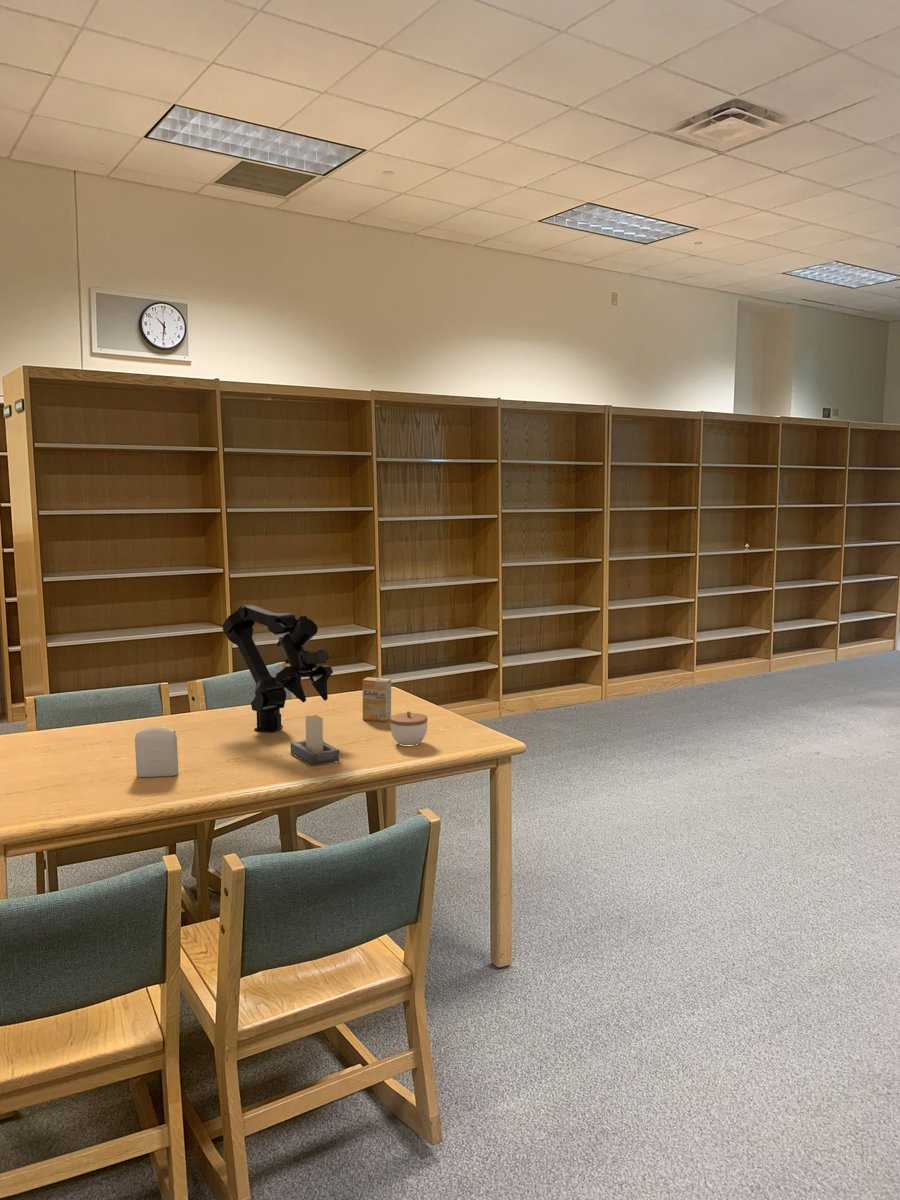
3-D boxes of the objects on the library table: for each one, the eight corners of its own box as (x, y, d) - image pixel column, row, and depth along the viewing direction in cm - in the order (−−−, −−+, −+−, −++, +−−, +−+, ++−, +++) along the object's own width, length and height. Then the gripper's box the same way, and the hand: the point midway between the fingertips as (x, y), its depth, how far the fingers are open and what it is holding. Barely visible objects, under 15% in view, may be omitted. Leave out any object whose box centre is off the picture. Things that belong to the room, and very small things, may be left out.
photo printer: (134, 778, 216) (132, 730, 215) (138, 773, 221) (136, 725, 219) (176, 777, 217) (174, 729, 216) (180, 772, 222) (178, 724, 220)
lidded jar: (413, 736, 255) (413, 705, 254) (434, 744, 247) (434, 712, 246) (383, 742, 249) (382, 710, 248) (403, 751, 240) (403, 718, 239)
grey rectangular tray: (290, 752, 238) (290, 742, 238) (317, 748, 243) (317, 738, 242) (311, 766, 227) (311, 754, 226) (339, 761, 231) (339, 750, 231)
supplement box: (362, 720, 274) (361, 679, 273) (367, 716, 279) (367, 676, 277) (386, 722, 272) (386, 681, 270) (391, 718, 276) (391, 678, 275)
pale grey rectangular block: (306, 752, 235) (305, 716, 234) (317, 750, 237) (316, 715, 236) (312, 756, 232) (311, 719, 231) (323, 754, 234) (322, 718, 233)
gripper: (291, 638, 239) (312, 688, 234) (335, 639, 254) (355, 686, 250) (265, 658, 243) (285, 707, 239) (309, 657, 259) (329, 704, 254)
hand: (315, 700), depth 245 cm, fingers open, 9 cm apart
